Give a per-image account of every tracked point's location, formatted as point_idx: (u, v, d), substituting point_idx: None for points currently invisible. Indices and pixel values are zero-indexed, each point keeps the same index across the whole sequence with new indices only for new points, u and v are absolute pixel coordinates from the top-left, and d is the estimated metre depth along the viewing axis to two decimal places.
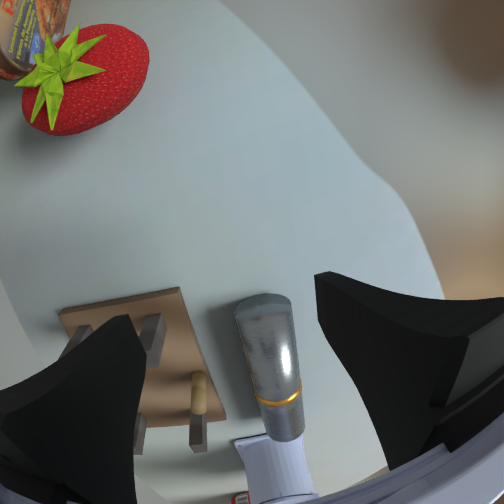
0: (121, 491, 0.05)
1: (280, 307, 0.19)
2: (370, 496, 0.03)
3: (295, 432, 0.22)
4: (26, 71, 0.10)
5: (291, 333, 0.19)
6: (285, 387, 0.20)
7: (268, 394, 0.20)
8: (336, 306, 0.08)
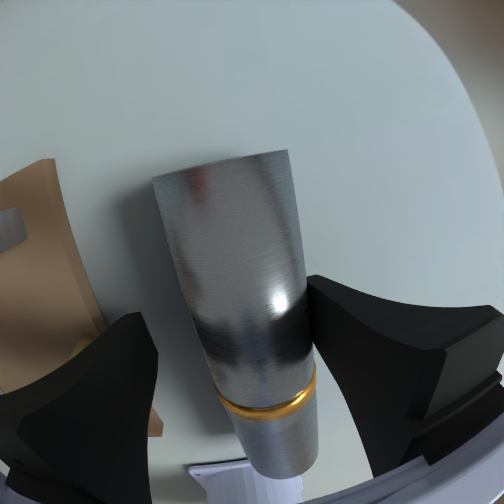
0: (137, 492, 0.05)
1: None
2: (370, 496, 0.03)
3: (313, 453, 0.11)
4: None
5: (297, 212, 0.08)
6: (301, 362, 0.09)
7: (267, 392, 0.08)
8: (320, 310, 0.08)
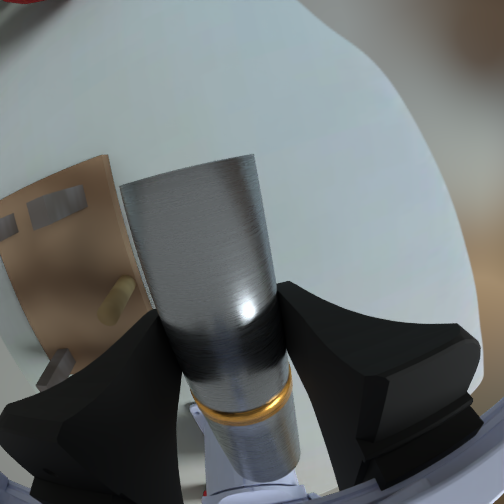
0: (171, 494, 0.05)
1: (225, 159, 0.07)
2: (370, 496, 0.03)
3: (279, 469, 0.11)
4: None
5: (253, 227, 0.07)
6: (247, 383, 0.08)
7: (208, 396, 0.08)
8: (288, 318, 0.08)
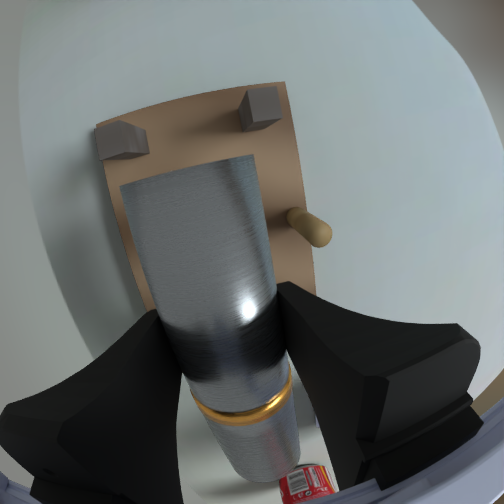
0: (171, 494, 0.05)
1: (225, 159, 0.07)
2: (370, 496, 0.03)
3: (279, 469, 0.11)
4: None
5: (253, 228, 0.07)
6: (246, 383, 0.08)
7: (208, 396, 0.08)
8: (288, 318, 0.08)
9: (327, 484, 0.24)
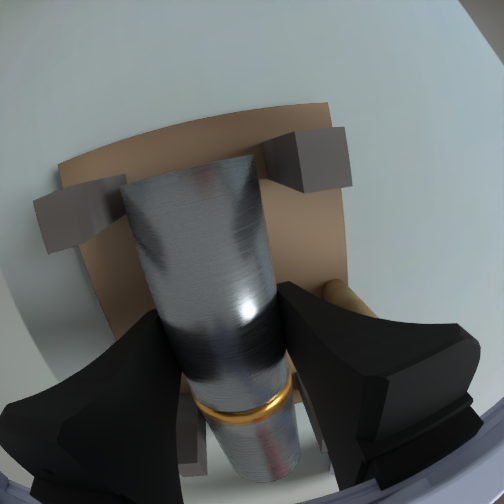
0: (171, 494, 0.05)
1: (225, 159, 0.07)
2: (370, 496, 0.03)
3: (279, 469, 0.11)
4: None
5: (253, 228, 0.07)
6: (246, 383, 0.08)
7: (208, 396, 0.09)
8: (288, 318, 0.08)
9: None
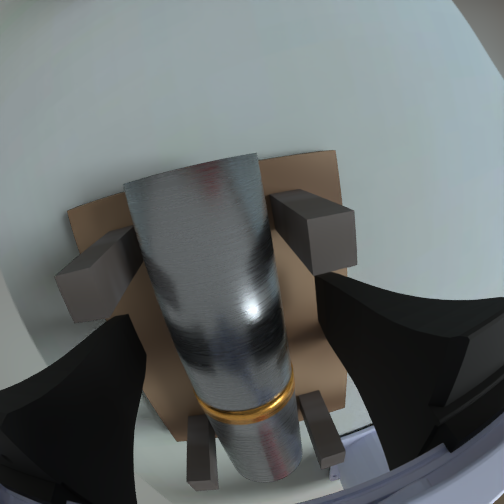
0: (121, 491, 0.05)
1: None
2: (370, 496, 0.03)
3: (283, 467, 0.11)
4: None
5: (258, 224, 0.07)
6: (252, 380, 0.08)
7: (214, 395, 0.08)
8: (336, 306, 0.08)
9: None
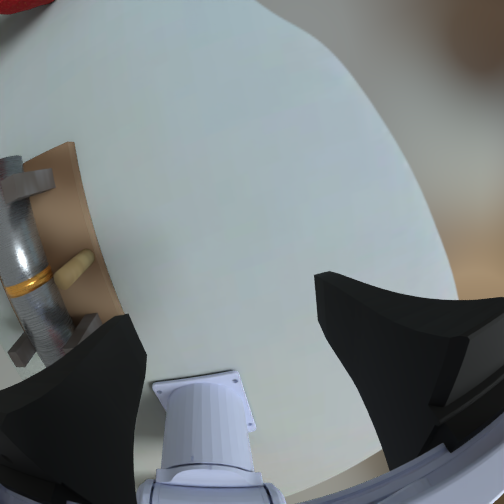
0: (121, 491, 0.05)
1: None
2: (370, 496, 0.03)
3: (56, 358, 0.15)
4: None
5: None
6: (9, 264, 0.12)
7: (1, 275, 0.13)
8: (336, 306, 0.08)
9: None
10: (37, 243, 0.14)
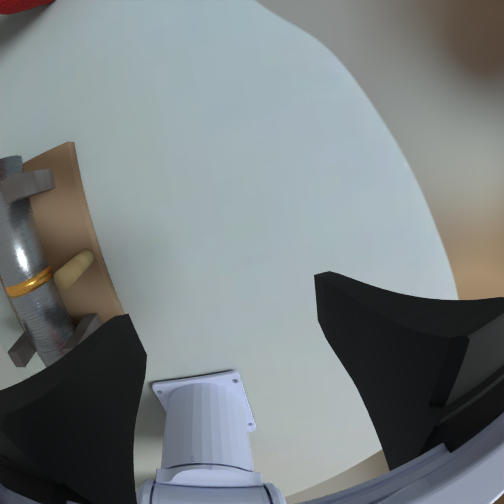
0: (121, 491, 0.05)
1: None
2: (370, 496, 0.03)
3: (56, 358, 0.15)
4: None
5: None
6: (9, 264, 0.12)
7: (1, 275, 0.13)
8: (336, 306, 0.08)
9: None
10: (37, 243, 0.14)
